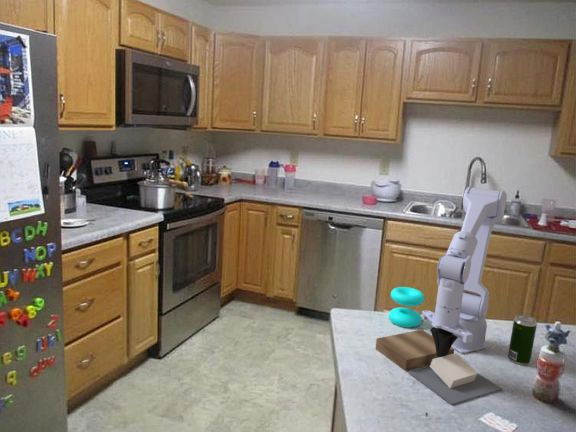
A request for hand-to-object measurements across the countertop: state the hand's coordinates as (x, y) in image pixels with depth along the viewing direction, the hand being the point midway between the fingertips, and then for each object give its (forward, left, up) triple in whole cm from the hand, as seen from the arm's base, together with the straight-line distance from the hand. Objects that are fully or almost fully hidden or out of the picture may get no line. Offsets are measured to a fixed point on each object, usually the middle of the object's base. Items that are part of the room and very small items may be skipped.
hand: (441, 356), depth 113 cm
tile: (0, +3, -3) cm, 4 cm away
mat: (0, +5, -4) cm, 6 cm away
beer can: (-25, +4, -4) cm, 25 cm away
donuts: (-12, -26, -4) cm, 29 cm away
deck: (0, -9, -4) cm, 10 cm away
